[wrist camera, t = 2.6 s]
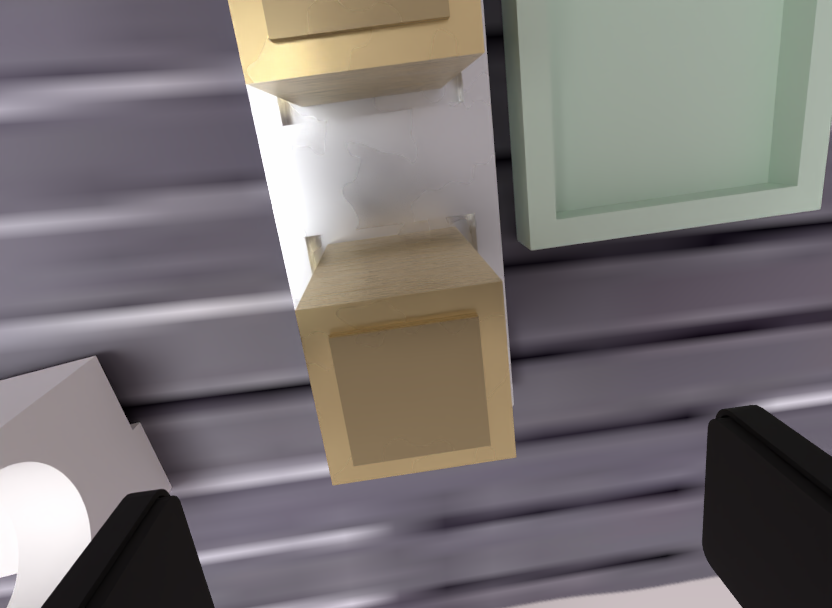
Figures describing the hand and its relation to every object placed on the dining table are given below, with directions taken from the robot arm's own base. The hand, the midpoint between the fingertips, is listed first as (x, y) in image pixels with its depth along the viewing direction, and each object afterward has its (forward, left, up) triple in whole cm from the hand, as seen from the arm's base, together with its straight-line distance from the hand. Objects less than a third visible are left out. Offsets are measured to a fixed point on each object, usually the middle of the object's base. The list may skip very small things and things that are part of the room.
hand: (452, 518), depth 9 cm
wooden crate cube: (0, 0, -12) cm, 12 cm away
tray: (-7, +10, -13) cm, 18 cm away
